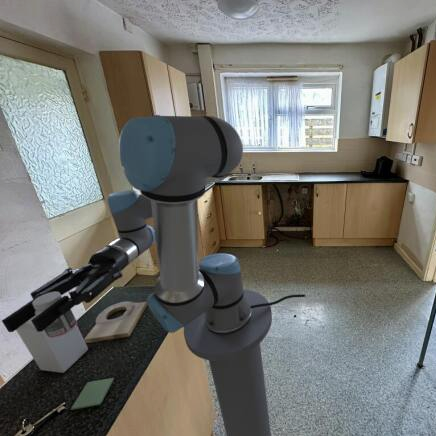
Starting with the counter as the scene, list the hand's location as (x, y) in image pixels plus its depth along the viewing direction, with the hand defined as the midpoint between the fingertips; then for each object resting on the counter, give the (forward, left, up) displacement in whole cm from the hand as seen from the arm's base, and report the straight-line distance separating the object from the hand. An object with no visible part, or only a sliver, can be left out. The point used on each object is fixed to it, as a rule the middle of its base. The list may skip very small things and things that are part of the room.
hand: (22, 326), depth 43 cm
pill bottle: (-1, -5, -7) cm, 9 cm away
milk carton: (+12, -16, -26) cm, 33 cm away
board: (+5, -29, -26) cm, 39 cm away
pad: (-1, -4, -26) cm, 26 cm away
